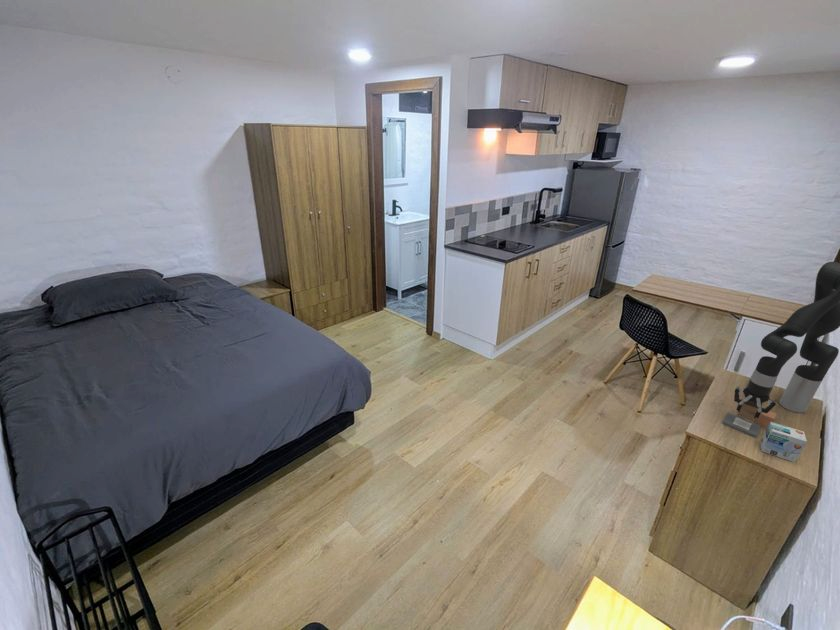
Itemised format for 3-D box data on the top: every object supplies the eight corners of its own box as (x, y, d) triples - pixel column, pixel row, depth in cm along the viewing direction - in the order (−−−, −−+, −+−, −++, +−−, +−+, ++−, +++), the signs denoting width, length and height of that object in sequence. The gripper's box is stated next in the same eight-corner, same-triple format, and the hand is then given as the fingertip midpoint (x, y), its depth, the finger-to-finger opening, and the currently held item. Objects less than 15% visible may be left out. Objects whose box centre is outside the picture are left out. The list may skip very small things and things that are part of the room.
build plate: (727, 414, 177) (728, 412, 176) (760, 428, 169) (761, 425, 168) (722, 423, 171) (723, 421, 170) (756, 438, 163) (757, 435, 163)
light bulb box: (760, 451, 157) (771, 430, 152) (759, 441, 162) (769, 420, 157) (795, 463, 151) (808, 442, 146) (793, 452, 156) (804, 431, 152)
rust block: (756, 419, 174) (761, 408, 171) (771, 424, 171) (776, 413, 168) (754, 424, 171) (759, 413, 168) (768, 430, 168) (774, 419, 165)
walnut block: (740, 409, 170) (745, 398, 168) (754, 415, 167) (760, 404, 164) (737, 415, 167) (743, 403, 165) (752, 420, 164) (757, 409, 161)
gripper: (786, 385, 157) (769, 418, 165) (742, 370, 167) (728, 402, 174) (783, 393, 153) (766, 427, 160) (738, 377, 162) (724, 410, 169)
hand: (746, 414), depth 167 cm, fingers closed on walnut block, 5 cm apart
